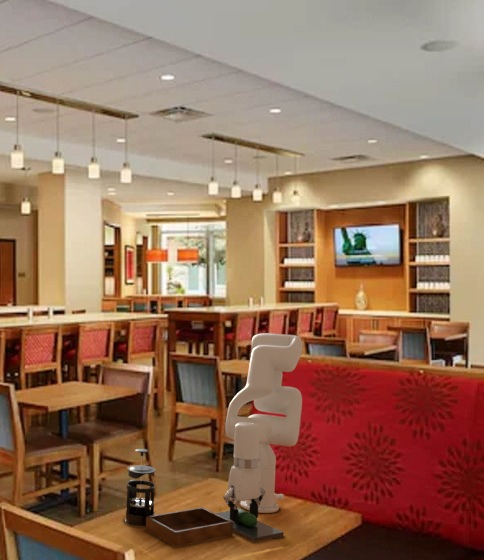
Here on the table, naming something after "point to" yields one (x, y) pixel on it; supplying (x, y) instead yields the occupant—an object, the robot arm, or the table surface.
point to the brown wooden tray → (189, 526)
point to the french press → (140, 506)
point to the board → (253, 529)
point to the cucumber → (246, 518)
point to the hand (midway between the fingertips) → (243, 518)
